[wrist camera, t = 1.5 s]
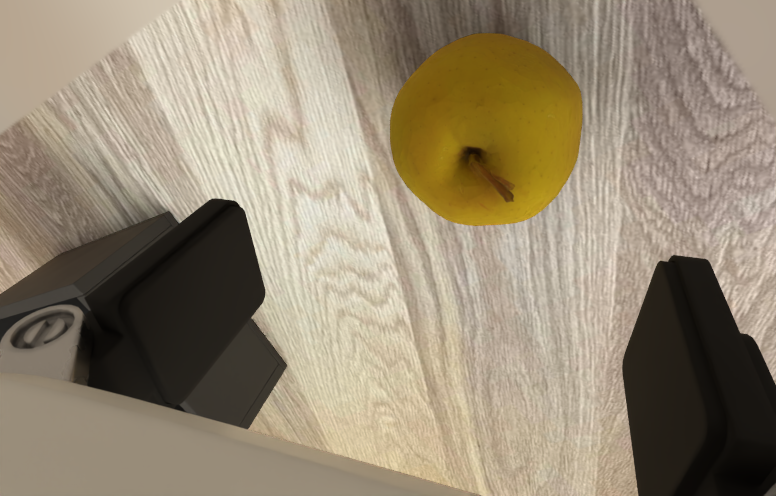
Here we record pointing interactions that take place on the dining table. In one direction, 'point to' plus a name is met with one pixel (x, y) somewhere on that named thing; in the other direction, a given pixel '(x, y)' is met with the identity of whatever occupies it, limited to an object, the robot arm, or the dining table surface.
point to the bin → (104, 259)
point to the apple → (487, 130)
